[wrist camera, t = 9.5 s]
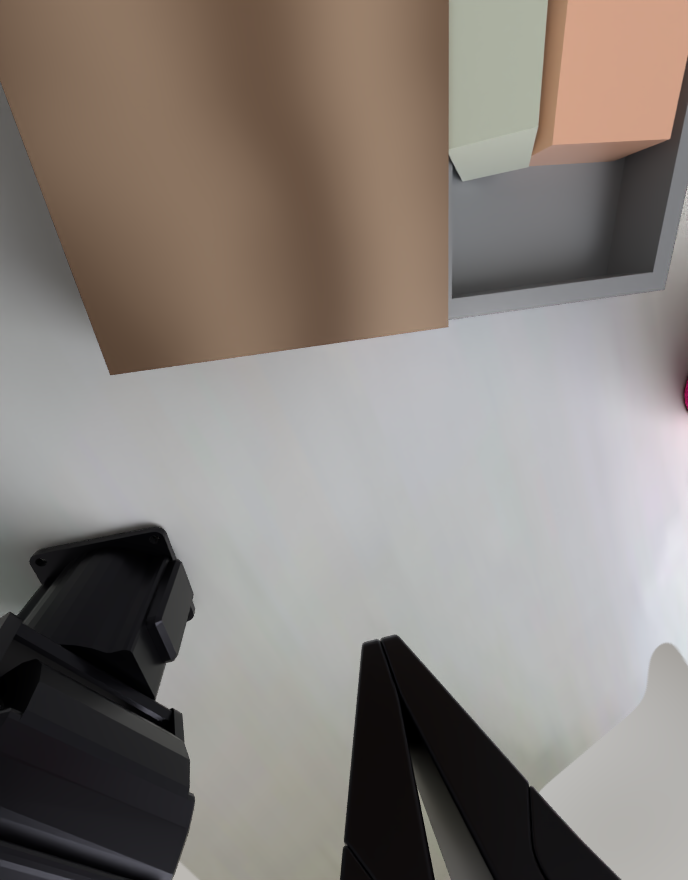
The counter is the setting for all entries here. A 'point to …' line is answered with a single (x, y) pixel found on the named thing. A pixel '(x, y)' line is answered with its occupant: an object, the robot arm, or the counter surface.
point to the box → (567, 228)
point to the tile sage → (494, 83)
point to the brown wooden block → (239, 167)
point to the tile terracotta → (609, 78)
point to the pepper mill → (686, 394)
